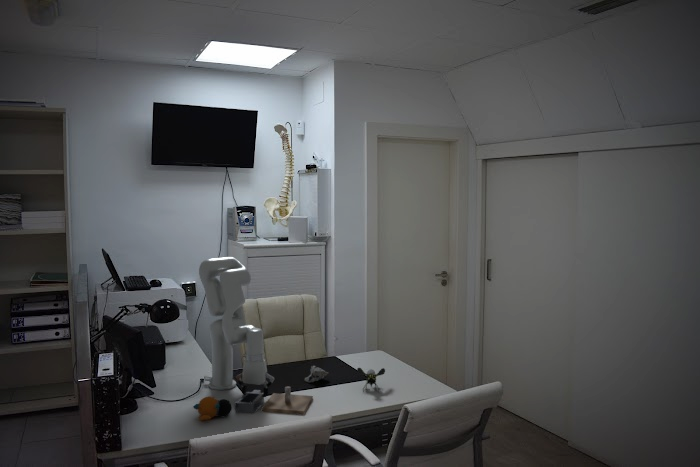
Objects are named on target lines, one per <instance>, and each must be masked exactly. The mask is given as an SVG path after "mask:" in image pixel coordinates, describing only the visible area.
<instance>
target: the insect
mask: <svg viewBox="0 0 700 467" xmlns="http://www.w3.org/2000/svg"><path fill="white" fill-rule="evenodd" d="M356 372H357V374H359V375H363V376H365V383H366V384H365V385H363V391H362V392H363V393H364V391H365V389H367V387H368V385H370V388H372V386H373V385H374V388H375V389H377V388H378V389H377V391H378V393H379V390H380V389H379V386H378V385H377V377H378V376H383V375H384V374H385V372H386V369H385V368H384V367H382V368H381V369H380V370H379V371H378V372H377V373H376V372H375V370H374V369H372V368H370V369H368V370H367V372H365V371H364V370H363V369H362V368H361V367H358V368H356Z"/></svg>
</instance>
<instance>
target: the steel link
mask: <svg viewBox="0 0 700 467" xmlns="http://www.w3.org/2000/svg"><path fill="white" fill-rule="evenodd" d="M264 402H265V397H264V392H262V391H261V389H254V390H252V391H247V392H246V393H245V394H244V395H243V394H242V396H241V397H240V398H238V399H237V401H235V403H234V404H235V405H234V412H235V413H239V414H249V415H251V414H253V415H254V414H255V413H256V412H257V411H258V410H259V408H260V407H261V406H262V405H264V404H265V403H264Z"/></svg>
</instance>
